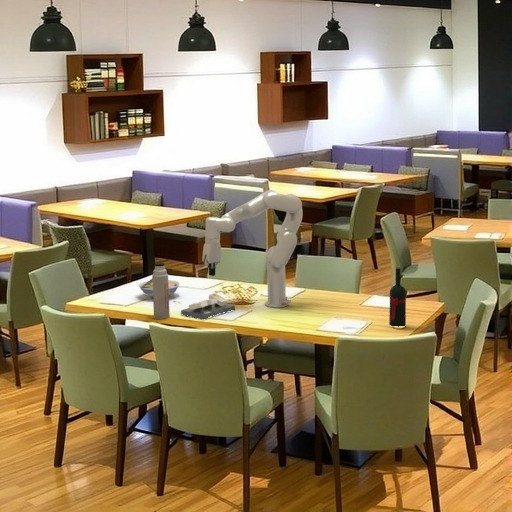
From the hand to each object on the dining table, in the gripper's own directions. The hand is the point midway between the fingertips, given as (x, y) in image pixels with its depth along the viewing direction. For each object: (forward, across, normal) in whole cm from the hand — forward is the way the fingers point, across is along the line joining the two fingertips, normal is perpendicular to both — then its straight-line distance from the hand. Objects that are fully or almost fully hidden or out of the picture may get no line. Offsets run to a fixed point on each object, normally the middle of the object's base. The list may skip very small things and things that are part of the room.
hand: (211, 275), depth 498 cm
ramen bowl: (+19, -2, -41) cm, 45 cm away
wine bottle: (+14, -26, +97) cm, 102 cm away
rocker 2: (+14, +7, +4) cm, 16 cm away
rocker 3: (+14, 0, +4) cm, 14 cm away
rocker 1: (+14, +14, +4) cm, 21 cm away
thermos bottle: (+19, +28, -9) cm, 35 cm away
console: (+18, +7, +4) cm, 20 cm away
